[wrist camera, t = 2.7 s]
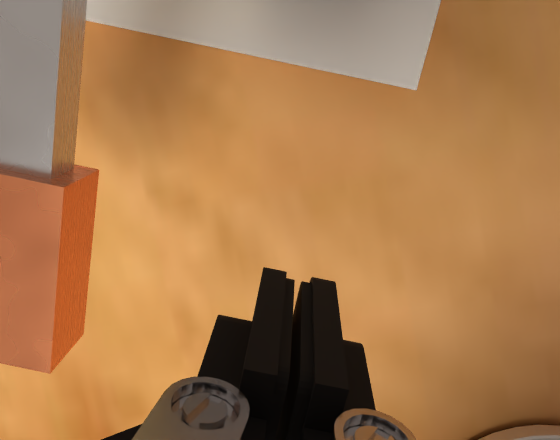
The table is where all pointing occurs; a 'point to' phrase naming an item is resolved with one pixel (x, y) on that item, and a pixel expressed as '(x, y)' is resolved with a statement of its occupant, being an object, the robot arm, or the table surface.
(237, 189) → the table surface
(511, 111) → the table surface
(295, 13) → the base board
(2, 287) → the valve lever
